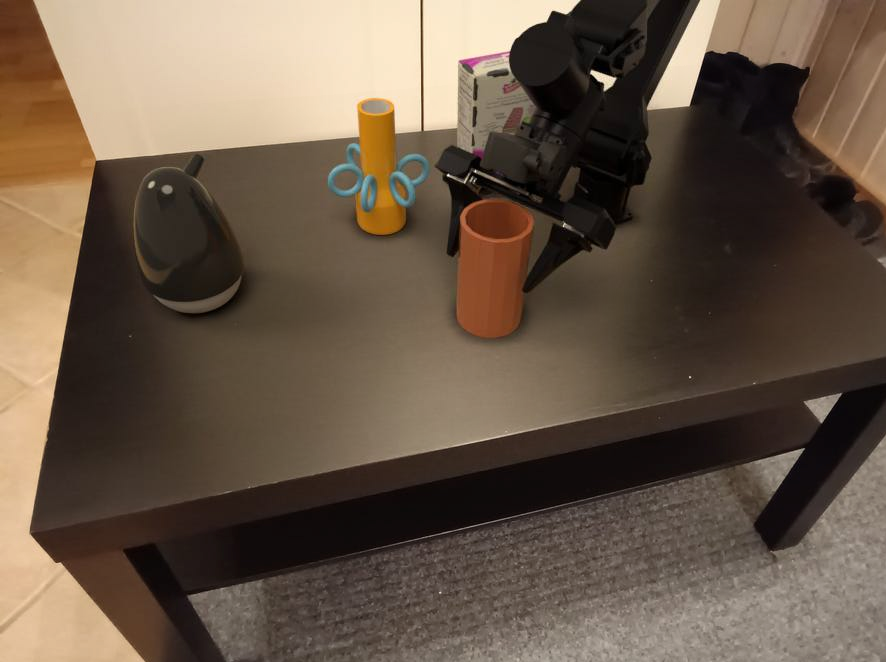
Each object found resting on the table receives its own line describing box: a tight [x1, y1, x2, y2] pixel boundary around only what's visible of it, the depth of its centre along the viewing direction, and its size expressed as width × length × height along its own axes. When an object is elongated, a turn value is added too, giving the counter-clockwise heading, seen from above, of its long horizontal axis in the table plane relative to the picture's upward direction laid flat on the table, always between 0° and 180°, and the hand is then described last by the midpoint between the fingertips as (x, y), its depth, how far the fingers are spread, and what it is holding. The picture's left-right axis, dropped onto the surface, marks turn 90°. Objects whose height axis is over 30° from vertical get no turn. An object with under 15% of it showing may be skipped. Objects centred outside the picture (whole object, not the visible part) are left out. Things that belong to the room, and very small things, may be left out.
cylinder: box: [327, 97, 431, 236], centre depth 81 cm, size 12×10×15 cm
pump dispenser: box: [132, 153, 245, 314], centre depth 70 cm, size 10×10×15 cm
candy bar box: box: [456, 50, 536, 197], centre depth 89 cm, size 11×5×16 cm, turn 117°
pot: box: [455, 198, 535, 339], centre depth 71 cm, size 7×7×12 cm
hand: (486, 273), depth 71 cm, fingers open, 9 cm apart
